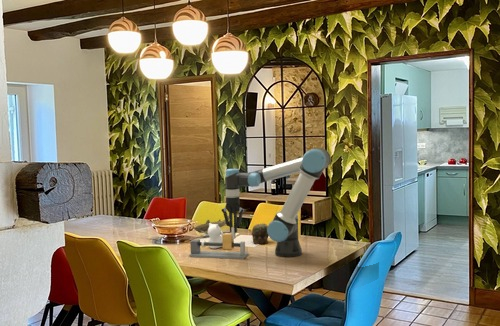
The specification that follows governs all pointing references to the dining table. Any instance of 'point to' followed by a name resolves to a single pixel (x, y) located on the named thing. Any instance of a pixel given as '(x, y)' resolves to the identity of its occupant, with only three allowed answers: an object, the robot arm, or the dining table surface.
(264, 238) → the carved stone head
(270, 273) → the dining table surface
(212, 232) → the cat figurine
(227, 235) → the sleeve
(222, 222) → the wood carving
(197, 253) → the slider rail
